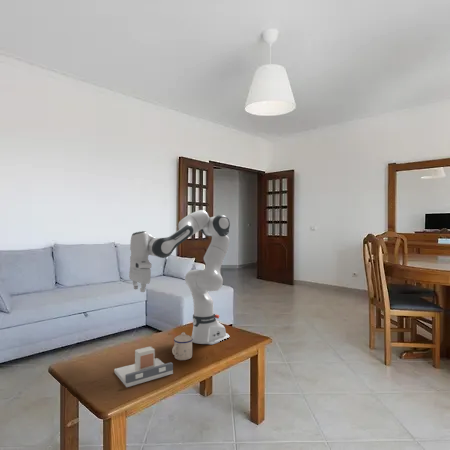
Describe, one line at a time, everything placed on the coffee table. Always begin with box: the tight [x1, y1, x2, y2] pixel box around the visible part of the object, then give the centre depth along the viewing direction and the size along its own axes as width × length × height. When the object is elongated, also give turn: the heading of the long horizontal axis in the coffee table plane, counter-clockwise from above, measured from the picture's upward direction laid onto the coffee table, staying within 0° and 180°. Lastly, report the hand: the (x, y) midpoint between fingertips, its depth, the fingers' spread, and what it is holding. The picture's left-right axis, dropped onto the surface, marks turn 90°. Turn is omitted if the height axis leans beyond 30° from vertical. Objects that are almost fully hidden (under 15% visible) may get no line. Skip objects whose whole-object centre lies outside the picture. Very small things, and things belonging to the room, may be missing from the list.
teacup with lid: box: [171, 331, 193, 361], centre depth 153 cm, size 12×9×12 cm
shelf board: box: [114, 357, 174, 388], centre depth 136 cm, size 20×16×4 cm
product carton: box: [134, 345, 156, 372], centre depth 135 cm, size 7×5×9 cm
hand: (139, 290), depth 160 cm, fingers open, 8 cm apart
